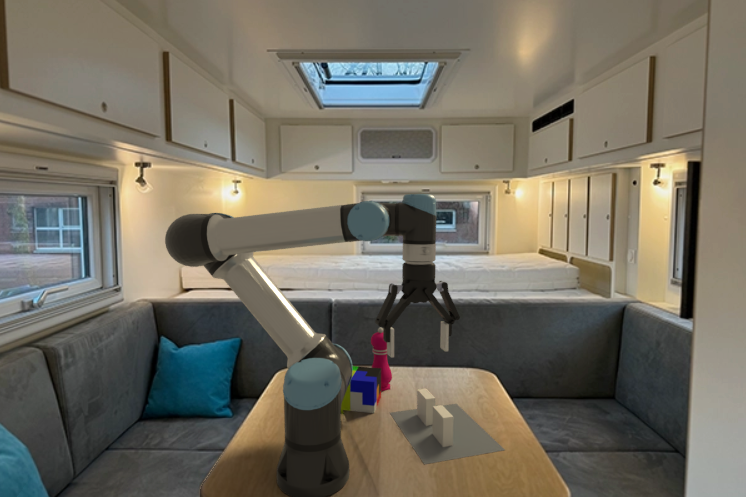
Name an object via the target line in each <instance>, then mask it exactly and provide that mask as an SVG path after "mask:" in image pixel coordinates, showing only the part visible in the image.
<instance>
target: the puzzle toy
mask: <svg viewBox="0 0 746 497" xmlns="http://www.w3.org/2000/svg"><path fill="white" fill-rule="evenodd" d="M352 366H353V369H352V379H351V382H350V384H349V386H348V387H347V390H346V393H345V396H344V398H343V401H342V404H341V415H345V413H344V411H347V412H348V411H349V412H359V413H360V412H361V413H370V414H375V412H376V410H377V407H378V406H379V403H380V400H381V398H382V391H381V368H371V367H372V366H370V367H369V366H357V365H352Z"/></svg>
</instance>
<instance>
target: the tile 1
mask: <svg viewBox="0 0 746 497" xmlns="http://www.w3.org/2000/svg"><path fill="white" fill-rule="evenodd" d="M416 394H417V395H416V398H417V399H416V409H417V415H418V416H419V418H420V419H421V420H422V421H423V423H424V424H425V425H426V426H427V425H432V423H433V406H436V397H435V396H434V395H433V394H432V393H431V392H430V391H429V390H428V389H427V388H418V389H417V391H416Z"/></svg>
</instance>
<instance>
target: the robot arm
mask: <svg viewBox="0 0 746 497" xmlns="http://www.w3.org/2000/svg"><path fill="white" fill-rule="evenodd" d="M400 236H401V237H402V261H404V262H403V264H402V269H401V270H402V272H401V273H402V277H401V278H402V282H401V284H394V283H389V285H388V291H387V292H388V293H387V295H386V297H385V299H384V301H383V304H382V305H381V308H380V310H379V312H378V314H377V317H376V318H375V321H374V322H375V324H376V325H377V326H378V327H379V328H380V327H381V328H383V339H384V341H385V342H387V356H389V357H390V358H395V328H393V327H392V326H394V325H395V323H396V322H397V320H398V319H399V318H400V316H401V315H402V314H403V312H404V311H405V310H406V309H407V307H409V306H410V305H411V303H413V304H419V303H424V304H425V303H427V302H428V303H429V304H430V305H431V306H432V307H433V309H434V310H435V311H436V312H437V314H439V315H440V317H441V318H442V319H443V320H444V321H440V339H439V340H440V341H439V342H440V345H439V346H440V349H441V350H442V351H444V352H449V344H450V343H449V338H450V337H452V334H453V325H454V324H455V322H456V321H459V320H460V318H461V316H460V314H459V312H458V309H457V308H456V305H455V303H454V301H453V299H452V296H451V294H450V292H449V284H448V282H447V281H444V280H439V281H438V282H436V267H437V266H436V264H435V263H434V262H435V261H436V254H437V253H436V249H437V248H436V246H437V244H436V242H437V200H436V197H435V196H434V195H433V194H429V193H410V194H409V193H408V194H404V195H403V197H402V202H395V203H391V202H388V203H387V202H377V201H373V200H363V201H360V202H356V203H347V204H339V205H332V206H321V207H313V208H312V207H311V208H306V209H305V208H303V209H296V210H294V209H293V210H287V211H280V212H279V211H277V212H271V213H262V214H253V215H244V216H243V215H242V216H237V217H236V216H235V217H234V216H233V215H229V214H227V213H222V212H210V213H188V214H185V215H181V216H180V217H178V218H176V219H175V220H173V221H172V222H171V224H170V225H169V226H168V227H167V231H166V232H165V237H164V238H165V239H164V243H165V248H166V251H167V252H168V254H169V255H170V257H171V258H172V259H173V260H174V261H175V262H177V263H179V265H183V266H186V267H191V268H194V267H195V268H197V267H204V268H205V270H207V272H208V273H209V274H210V275H211V277H212V278H214V279H220V280H223V281H224V282H225V283H226V285H228V287H229V288H230V290H232V292H233V293H234V294H235V295H236V297H238V299H239V300H240V301H241V303H242V304H244V306H245V307H246V308H247V310H248V311H249V312H250V314H251V315H253V317H254V319H255V320H257V322H258V324H260V325H261V327H262V328H263V329H264V330H265V332H267V334H268V335H269V336H270V338H271V339H272V340H273V341H274V343H275V344H276V345H277V347H279V348H280V350H281V351H282V352H283V353H284V354H285V356H286V357H287V362H286V367H287V371H286V372H285V375H284V380H283V385H282V388H283V389H282V393H283V412H284V413H283V414H284V415H283V416H284V420H283V422H284V444H283V447H282V451H281V454H280V455H279V456H280V457H279V460H278V463H277V466H276V484H277V486H278V488H279V489H280V490H281V491H282V493H284V494H286V495H287V496H289V497H328V496H331V495H333V494H335V493H337V492H339V491H340V490H341V489H342V488H343V487H345V485H346V484H347V482H348V480H349V478H350V460H349V458H348V455H347V452H346V449H345V446H344V442H343V440H342V414H341V404H342V401H343V398H344V396H345V393H346V390H347V387H348V386H349V384H350V382H351V379H352V369H353V366H354V365H353V361H352V358H351V356H350V354H349V352H348V351H347V350H346V349H345V348H344V347H343V346H341V345H339V344H337V343H333V342H332V341H331V339H330V338H329V337H328V336H327V335H326V334H325V333H317V332H315V330H314V329H313V328H312V327H311V326H310V324H309V323H308V322H307V321H306V319H305V318H304V317H303V316H302V314H301V313H300V312H299V311H298V310H297V309H296V307H295V306H294V305H293V303H292V302H291V301H290V300H289V298H288V297H287V296H286V295H285V294H284V293H283V291H282V290H281V289H280V288H279V286H278V285H277V284H276V283H275V282H274V281H273V279H272V278H271V277H270V276H269V275H268V273H267V272H266V271H265V270H264V268H262V266H261V265H260V263H259V262H258V261H257V260H256V259H255V258H254V253H260V252H270V251H278V250H286V249H287V250H288V249H296V248H305V247H307V248H308V247H314V246H322V245H331V244H332V245H333V244H340V243H341V244H342V243H352V242H361V241H362V242H373V241H377V240H379V239H381V238H382V237H400ZM436 290H437V291H438V292H439V295H440V297H441V299H442V301H443V302H444V305H445V307H446V309H445V308H444V307H443V305H442V304H441V303H440V302H439V301H438V299H437V297H436V296H435V294H434V293H435V292H436ZM400 292H402V295H401V297H400V298H399V300H398V302H397V304H396V305H395V306H394V307H393V305H394V303H395V301H396V299H397V296H398V295H399V294H400ZM392 308H393V309H392ZM391 309H392V310H391ZM446 310H447V311H448V312H447V311H446Z"/></svg>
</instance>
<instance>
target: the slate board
mask: <svg viewBox="0 0 746 497" xmlns="http://www.w3.org/2000/svg"><path fill="white" fill-rule="evenodd" d="M442 405H443V404H442ZM443 406H444V407H445V409H446V410H447V411H448V412H449V413H450V414H451V415H452V416H453V445H452V446H446V447H443V446H442V445H441V444H440V443H439V441H438V440H437V439H436V438H435V436H434V435H433V434H432V425H427V426H426V425H425V424H424V423H423V421H422V420H421V419H420V418H419V416H418V415H417V408H414V409H406V410H401V411H392V412H391V411H390V412H389V414H390V416H391V417H392V419H393V420H394V421H395V424H396V425H397V426H398V427H399V429H400V431H401V432H402V433H403V435H404V436H405V438H406V440H407V441H408V442H409V444H410V446H411V447H412V448H413V450H414V451H415V453H416V454H417V456H418V457H419V459H420V460H421V462H422V463H423V465H429V464H436V463H440V462H445V461H450V460H457V459H458V460H459V459H463V458H468V457H474V456H475V457H476V456H479V455H481V456H482V455H485V454H493V453H497V452H503V451H506V449H505V448H504V447H503V446H502V445H501V444H500V443H499V442H498V441H496V440H495V439H494V438H493V437H492V436H491V435H490V434H489V432H487V431H486V430H485V429H484V428H483V427H482V426H481V425H480V424H479V423H478V422H477V421H475V420H474V419H473V418H472V416H470V415H469V414H468V413H467V412H466V411H465V410H464V409H463V408H462V407H461V406H459V404H458V403H452V404H445V405H443Z"/></svg>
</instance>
